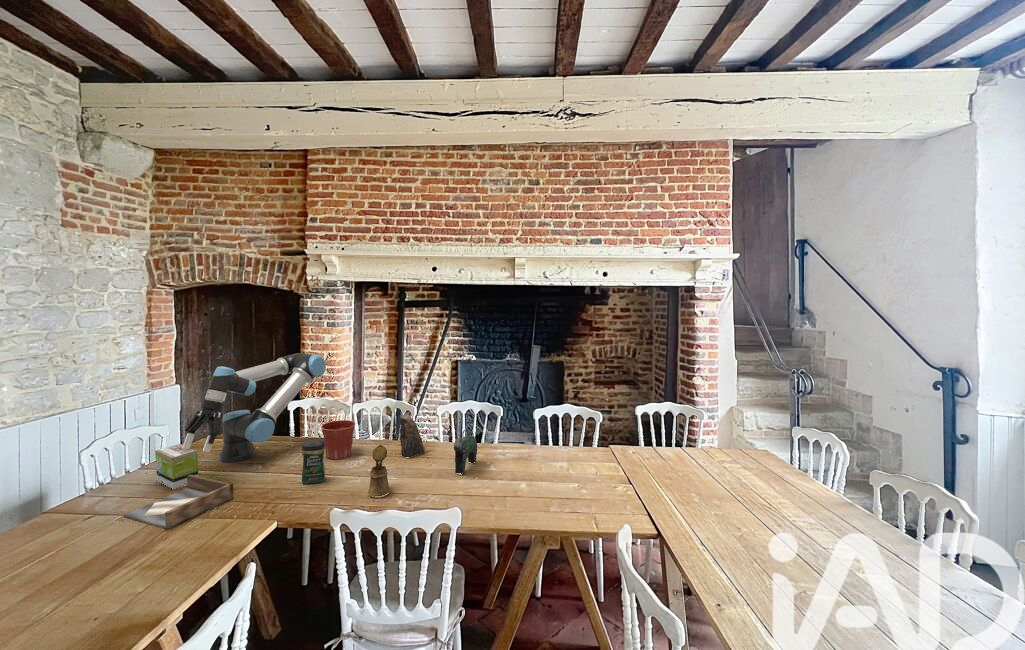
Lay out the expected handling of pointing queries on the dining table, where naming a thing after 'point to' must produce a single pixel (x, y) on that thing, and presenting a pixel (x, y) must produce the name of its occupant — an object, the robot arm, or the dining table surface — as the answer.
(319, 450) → the coffee jar
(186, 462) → the tea box
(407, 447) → the owl
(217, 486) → the wooden tray
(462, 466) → the ceramic cat
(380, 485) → the brown bell
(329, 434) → the flower pot
